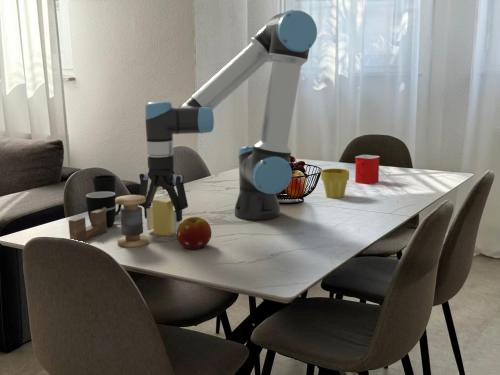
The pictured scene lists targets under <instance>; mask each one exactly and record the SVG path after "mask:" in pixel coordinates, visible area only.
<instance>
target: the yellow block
mask: <svg viewBox="0 0 500 375" xmlns="http://www.w3.org/2000/svg"><path fill="white" fill-rule="evenodd" d="M151 205H152V206H151V207H152V210H153V229H152V230H153V234H154V235H161V236H170V235H172V234H175V233H174V228H173V211H174V206H173V204H172V201H171V199H167V198H156V199H153V201H152V204H151Z"/></svg>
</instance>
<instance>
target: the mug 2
mask: <svg viewBox="0 0 500 375" xmlns="http://www.w3.org/2000/svg"><path fill="white" fill-rule="evenodd" d="M354 158H355V168H354V169H355V174H354V178H355V179H354V182H355V183H357V184H365V185H373V184H376V183H379V172H380V170H379V169H380V156H379V155H371V154H361V155H357V156H355V157H354Z"/></svg>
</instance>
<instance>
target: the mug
mask: <svg viewBox="0 0 500 375" xmlns="http://www.w3.org/2000/svg"><path fill="white" fill-rule="evenodd" d="M116 195H117V194H116V192H115V193H114V192H95V191H93V192H90V193H87V194H86V195H85V200H86V203H85V204H86V209H87V214H88V218H89V222H90V224H91V216H90V212H92V211H95V210H98V209H105V210H106V222H107V229H108V228H111V227H113V226H114V225H115V221H116V217H117V216H118V215H119V214H120V209H121V208H122V205H118V204H116V203H115V198H117V197H118V196H116ZM117 206H118V207H117ZM116 208H117V209H116Z"/></svg>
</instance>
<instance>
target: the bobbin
mask: <svg viewBox="0 0 500 375" xmlns="http://www.w3.org/2000/svg"><path fill="white" fill-rule="evenodd" d="M116 197H117V198H115V203H116V205H117V206H118V205H121V206H123V207H121V209H120V212H119V214H120V231H121V235H122V237H120V238H118V239H117V245H118V246H119V247H120V248H130V249H131V248H137V247H138V248H139V247H143V246H146V245H148V243H149V238H148V237H147V236H144V235H142V234H143V233H144V221H143V207H142V206H139V205H138V204H142V203H144V202H146V197H147V196H146V197H145V196H141V195H139V194H129V195H128V194H127V195H120V196H116Z"/></svg>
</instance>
